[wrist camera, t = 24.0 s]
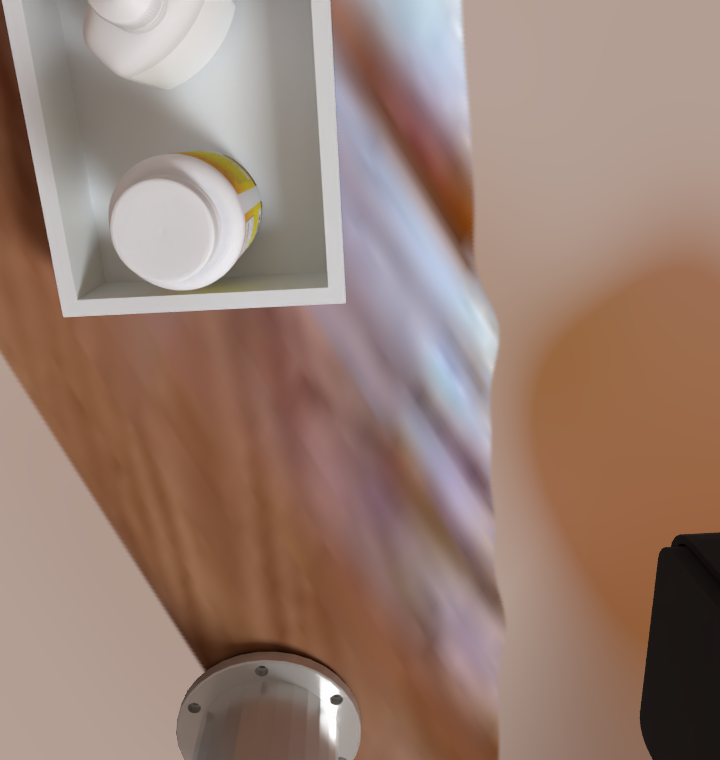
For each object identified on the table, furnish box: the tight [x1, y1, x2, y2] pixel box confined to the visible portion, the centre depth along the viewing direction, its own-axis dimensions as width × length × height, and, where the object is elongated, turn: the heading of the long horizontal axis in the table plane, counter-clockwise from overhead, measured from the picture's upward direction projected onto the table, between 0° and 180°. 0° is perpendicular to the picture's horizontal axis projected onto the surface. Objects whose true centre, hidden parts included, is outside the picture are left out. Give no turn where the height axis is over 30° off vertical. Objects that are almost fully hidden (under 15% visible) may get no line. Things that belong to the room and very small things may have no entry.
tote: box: [2, 0, 346, 317], centre depth 32 cm, size 18×14×5 cm
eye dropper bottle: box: [83, 0, 236, 90], centre depth 27 cm, size 4×6×12 cm
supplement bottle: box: [108, 151, 262, 291], centre depth 30 cm, size 6×6×10 cm
